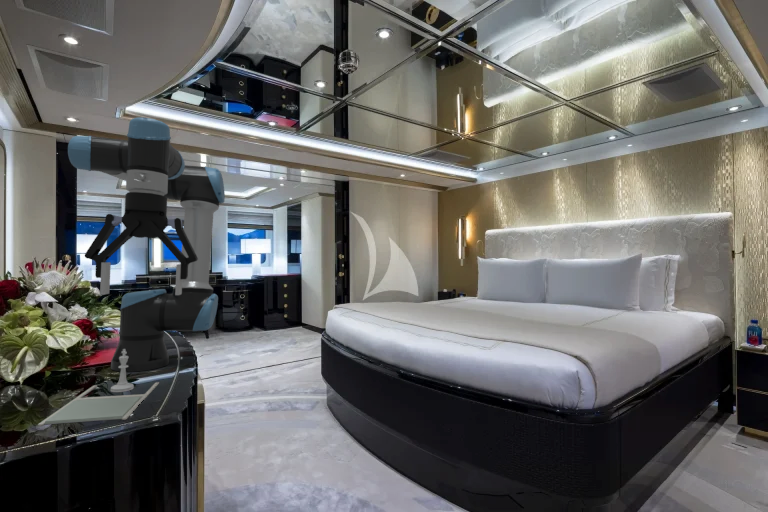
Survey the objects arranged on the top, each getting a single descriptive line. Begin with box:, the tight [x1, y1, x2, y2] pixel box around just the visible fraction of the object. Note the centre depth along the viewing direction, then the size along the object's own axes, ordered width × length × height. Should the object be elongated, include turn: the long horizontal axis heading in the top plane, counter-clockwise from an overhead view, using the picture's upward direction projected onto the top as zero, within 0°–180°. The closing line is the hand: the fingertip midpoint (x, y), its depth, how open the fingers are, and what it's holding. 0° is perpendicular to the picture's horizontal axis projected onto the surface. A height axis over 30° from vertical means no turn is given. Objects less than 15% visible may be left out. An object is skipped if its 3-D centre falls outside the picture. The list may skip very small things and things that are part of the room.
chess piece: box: [110, 349, 135, 393], centre depth 97 cm, size 5×5×10 cm
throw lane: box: [37, 381, 160, 427], centre depth 88 cm, size 25×15×1 cm, turn 17°
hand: (142, 294), depth 81 cm, fingers open, 13 cm apart
